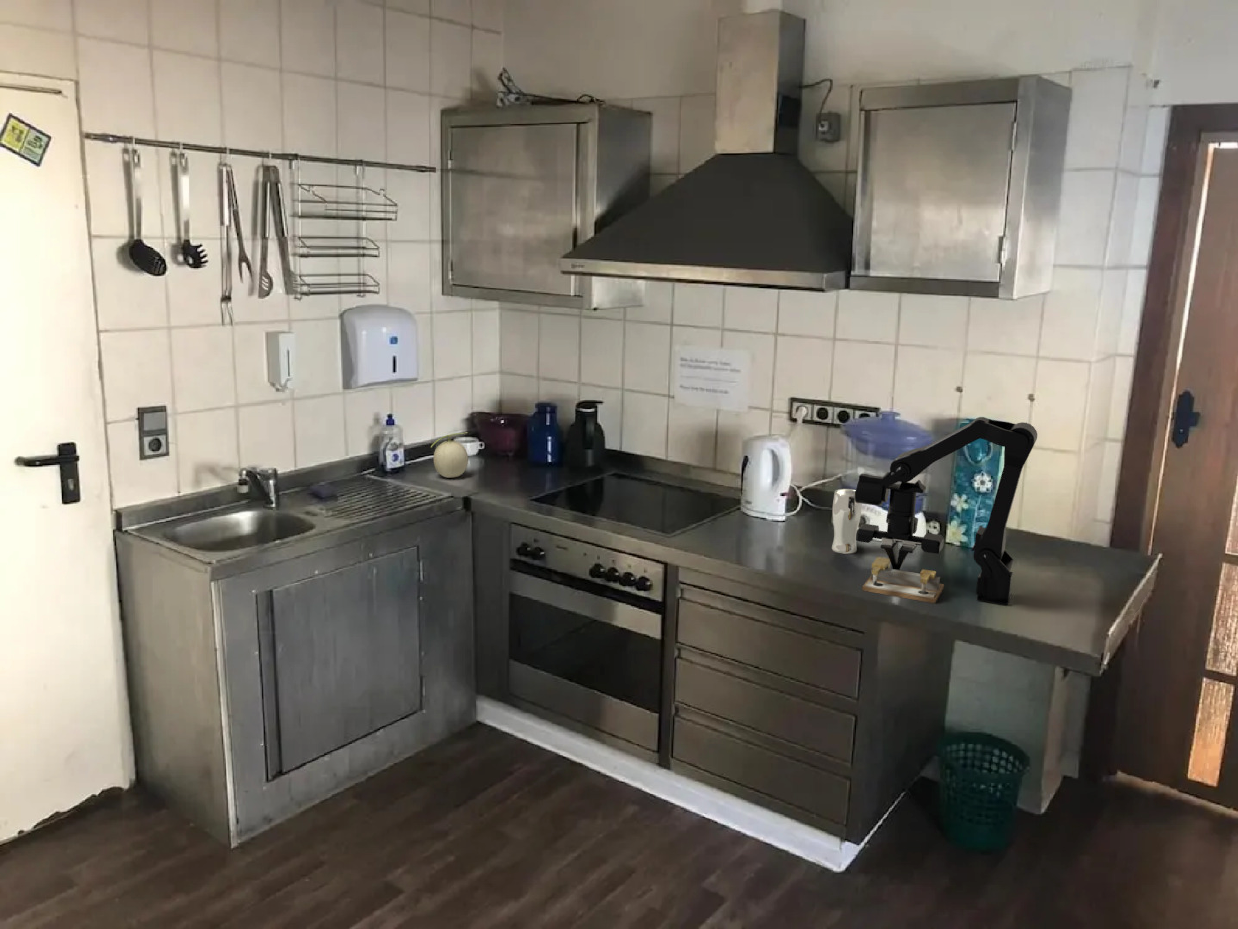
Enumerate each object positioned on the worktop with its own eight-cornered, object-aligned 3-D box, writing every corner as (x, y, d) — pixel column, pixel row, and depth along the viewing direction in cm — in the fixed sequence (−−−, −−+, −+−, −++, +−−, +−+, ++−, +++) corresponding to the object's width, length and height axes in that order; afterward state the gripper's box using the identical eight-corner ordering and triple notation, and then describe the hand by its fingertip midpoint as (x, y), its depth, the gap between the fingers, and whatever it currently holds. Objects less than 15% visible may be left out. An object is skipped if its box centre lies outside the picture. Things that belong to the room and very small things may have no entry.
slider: (889, 574, 238) (890, 559, 237) (880, 586, 230) (881, 570, 229) (876, 571, 239) (877, 556, 238) (867, 583, 232) (868, 568, 231)
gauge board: (943, 588, 233) (945, 568, 232) (935, 603, 224) (937, 582, 223) (873, 576, 240) (874, 556, 239) (862, 590, 231) (863, 570, 230)
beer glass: (833, 543, 262) (836, 487, 258) (860, 547, 259) (864, 490, 256) (827, 552, 256) (831, 494, 252) (855, 556, 253) (859, 497, 249)
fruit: (427, 474, 323) (425, 428, 319) (463, 471, 327) (462, 425, 324) (435, 483, 314) (434, 435, 310) (472, 479, 318) (471, 432, 314)
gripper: (951, 505, 235) (945, 569, 239) (869, 494, 243) (865, 556, 247) (941, 518, 225) (935, 585, 229) (857, 506, 233) (852, 571, 237)
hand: (896, 573), depth 236 cm, fingers closed
